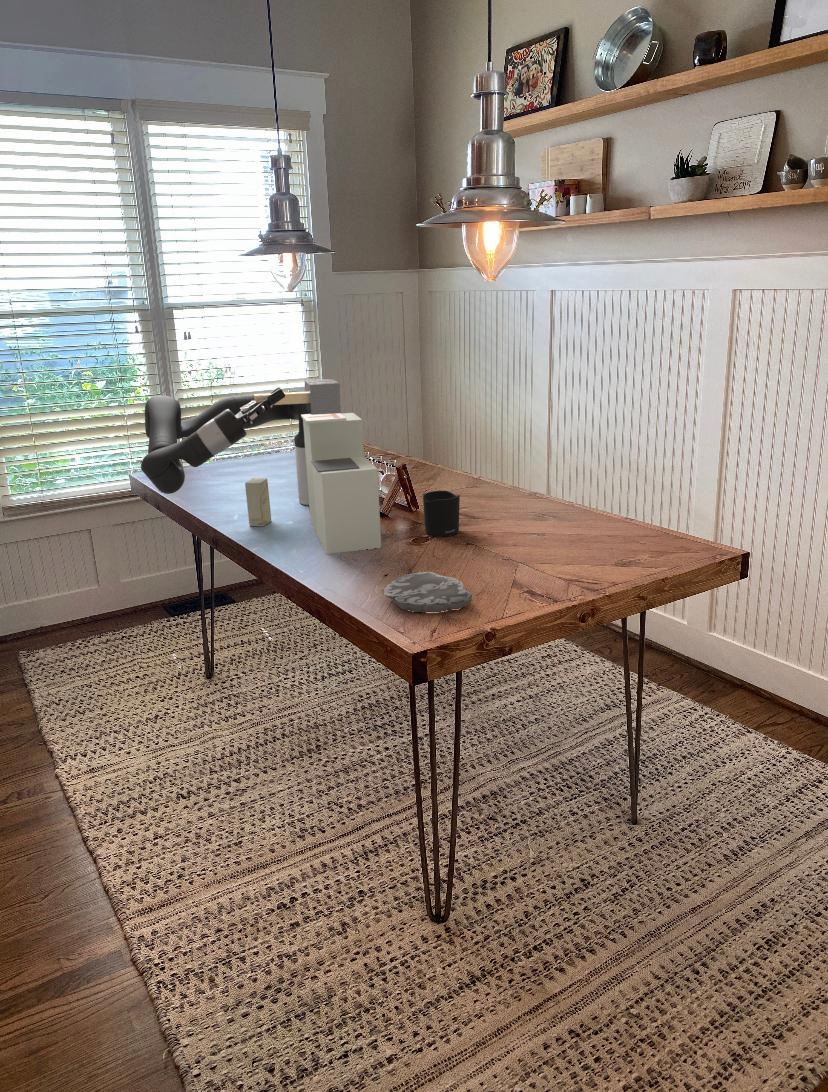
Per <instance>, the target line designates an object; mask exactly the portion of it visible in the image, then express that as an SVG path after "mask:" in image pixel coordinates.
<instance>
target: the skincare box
mask: <svg viewBox="0 0 828 1092" xmlns="http://www.w3.org/2000/svg"><path fill="white" fill-rule="evenodd" d="M244 485H245V495H246V497H245V498H246V507H247V514H248V524H249V526H250V527H265V526H266V525H267V524H269V523H270V522H271V521H272V514H271V513H272V510H271V502H270V501H271V500H270V491H269V482H268V478H266V477H265V478H263V477H262V478H259V477H257V478H256V477H255V478H251V479H250V480H248V481H246V482H245V483H244Z"/></svg>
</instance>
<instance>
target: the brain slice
mask: <svg viewBox="0 0 828 1092" xmlns="http://www.w3.org/2000/svg"><path fill="white" fill-rule="evenodd" d="M464 587H465V586H464V584H463V582H462V581H460V580H458V579H457V578H455V577H451V576H447V575H441V574H437V573H435V572H433V571H418V572H413V573H409V574H403V575H401V576H396V578H395V579H393V580H391V581H390V582H389V584H386V585H385V588H383V590H382V592H383V596H385V597H386V598H388V599H391V601H393V602H394V603H395V605H397V606H398V607H399V608H400V609H402V610H403V609H404V611H406V610H410V611H414V612H423V613H424V612H441V611H446V610H452V609H459V608H461V609H463V608H462V607H464V606H465V607H466V606H468V605H469V604H470V603H471V601H472V598H473V593H472V592H470V591H469V590H467V589H465V588H464ZM465 607H464V608H465ZM414 612H413V613H414Z"/></svg>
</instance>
